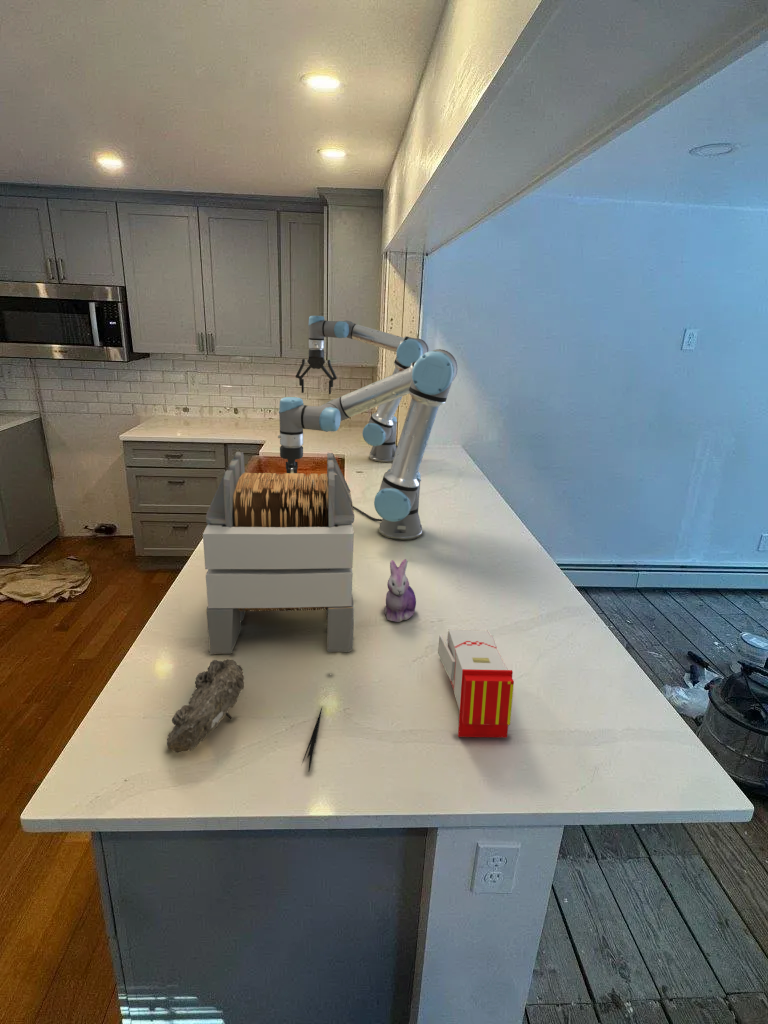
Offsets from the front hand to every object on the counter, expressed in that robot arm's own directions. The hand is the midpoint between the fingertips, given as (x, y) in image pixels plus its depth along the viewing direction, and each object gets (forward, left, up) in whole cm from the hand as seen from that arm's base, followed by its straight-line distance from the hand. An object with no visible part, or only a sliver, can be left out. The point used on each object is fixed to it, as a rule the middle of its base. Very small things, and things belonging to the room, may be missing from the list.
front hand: (292, 511), depth 193 cm
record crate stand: (+47, -31, -8) cm, 56 cm away
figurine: (+63, -7, -8) cm, 64 cm away
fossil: (+70, -61, -8) cm, 94 cm away
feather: (+83, -46, -8) cm, 95 cm away
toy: (+95, -16, -8) cm, 97 cm away
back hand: (-82, +66, +25) cm, 108 cm away
